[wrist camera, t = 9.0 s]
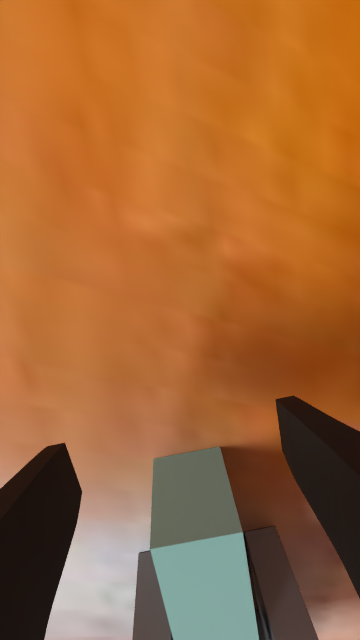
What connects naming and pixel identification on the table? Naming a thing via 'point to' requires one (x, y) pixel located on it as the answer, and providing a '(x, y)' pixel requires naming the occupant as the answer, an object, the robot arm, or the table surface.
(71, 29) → the table surface
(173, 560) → the plug
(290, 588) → the header
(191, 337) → the table surface
